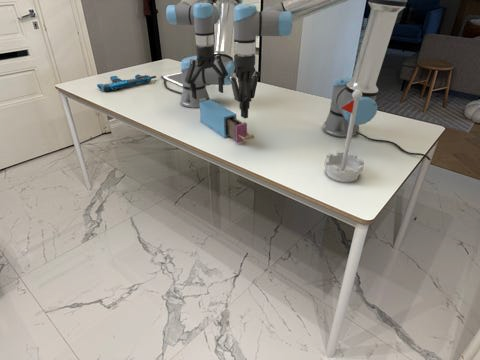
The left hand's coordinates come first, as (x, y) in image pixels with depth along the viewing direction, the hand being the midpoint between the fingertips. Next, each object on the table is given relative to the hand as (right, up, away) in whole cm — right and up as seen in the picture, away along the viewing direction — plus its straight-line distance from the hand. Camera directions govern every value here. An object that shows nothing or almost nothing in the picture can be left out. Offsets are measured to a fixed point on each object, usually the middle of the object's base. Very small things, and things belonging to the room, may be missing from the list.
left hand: (208, 95), depth 152 cm
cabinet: (+4, -14, +1) cm, 15 cm away
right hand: (+16, -13, -20) cm, 29 cm away
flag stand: (+50, -36, -32) cm, 70 cm away
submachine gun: (-55, +21, +56) cm, 82 cm away
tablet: (-19, +25, +61) cm, 69 cm away
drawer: (+11, -19, -8) cm, 23 cm away
